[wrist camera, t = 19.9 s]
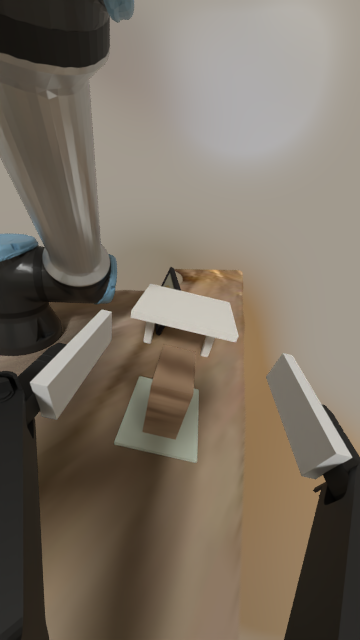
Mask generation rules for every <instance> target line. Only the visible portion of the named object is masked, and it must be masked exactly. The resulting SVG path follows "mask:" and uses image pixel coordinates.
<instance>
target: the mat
mask: <svg viewBox="0 0 360 640" xmlns="http://www.w3.org/2000/svg"><path fill="white" fill-rule="evenodd" d="M152 381H153V379H151V378H146V377H142V376H139V379H138V381H137V384H136V386H135V389H134V392H133V394H132V397H131V400H130V402H129V405H128V407H127V410H126V413H125V415H124V418H123V420H122V423H121V426H120V428H119V431H118V433H117V436H116V439H115V441H114V445H119V446H123V447H128V448H132V449H137V450H141V451H145V452H150V453H154V454H159V455H163V456H168V457H172V458H176V459H181V460H185V461H190V462H194V463H196V462H197V448H198V409H199V390H198V389H194V393H193V397H192V399H191V402H190V404H189V407H188V409H187V412H186V415H185V417H184V420H183V422H182V425H181V427H180V430H179V432H178V435H177V437H176V440H175V439H170V438H166V437H162V436H157V435H153V434H148V433H144V432H142V431H143V425H144V420H145V415H146V410H147V404H148V399H149V394H150V389H151V384H152Z"/></svg>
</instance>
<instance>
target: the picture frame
mask: <svg viewBox="0 0 360 640" xmlns="http://www.w3.org/2000/svg"><path fill="white" fill-rule="evenodd" d="M161 286H163V287H167V288H171V289H175V290H179V291H181V289H180V286H179V283H178V280H177V277H176V274H175V271H174V268H172V267H171V268H170V269H169V271H168V274H167V275H166V277H165V279H164V282H163V284H162V285H161ZM164 327H165V325H160V324H156V334H157V335H160V334H161V332H162V331H163V329H164Z"/></svg>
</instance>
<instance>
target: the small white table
mask: <svg viewBox="0 0 360 640" xmlns="http://www.w3.org/2000/svg"><path fill="white" fill-rule="evenodd" d="M131 318H135V319H139V320H143V321H146V328H145V335H144V342H145V343H149V344H150V343H151V341H152V337H153V330H154V324H155V323H156V324H160V325H165V326H169V327H173V328H177V329H181V330H186V331H190V332H194V333H198V334H203V335H206V338H205V341H204V344H203V347H202V349H201V356H205V357H208V355H209V352H210V350H211V347H212V345H213V342H214V339H215V338H220V339H224V340H228V341H232V342H236V340H237V338H238V332H237V328H236V325H235V321H234V317H233V314H232V310H231V306H230V303H229V302H225V301H221V300H217V299H213V298H208V297H204V296H200V295H196V294H192V293H188V292H183V291H179V290H175V289H171V288H167V287H163V286H158V285H154V284H150V285H149V286H148V288H147V289H146V291H145V292H144V293H143V295H142V296H141V298H140V299H139V300H138V302H137V303H136V305H135V306H134V308H133V309H132V310H131Z"/></svg>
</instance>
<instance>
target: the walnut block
mask: <svg viewBox="0 0 360 640" xmlns="http://www.w3.org/2000/svg"><path fill="white" fill-rule="evenodd" d="M195 357H196V352H195V351H191V350H187V349H183V348H178V347H174V346H170V345H166V344H163V347H162V350H161V354H160V357H159V360H158V364H157V367H156V370H155V374H154V377H153V381H152V384H151V389H150V394H149V399H148V404H147V410H146V415H145V420H144V425H143V431H142V432H144V433H148V434H153V435H157V436H162V437H166V438H170V439H175V440H176V437H177V435H178V432H179V430H180V427H181V425H182V422H183V420H184V417H185V415H186V412H187V409H188V407H189V404H190V402H191V399H192V397H193V393H194V375H195Z"/></svg>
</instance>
